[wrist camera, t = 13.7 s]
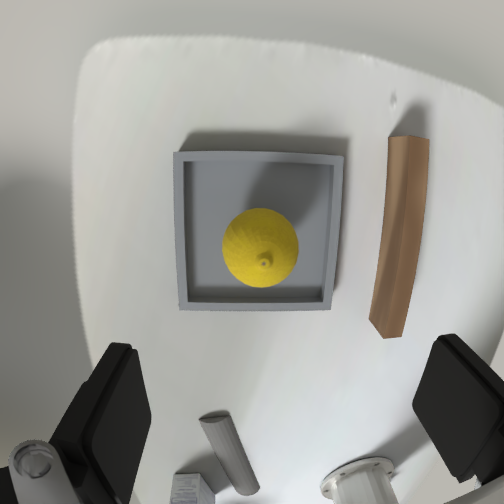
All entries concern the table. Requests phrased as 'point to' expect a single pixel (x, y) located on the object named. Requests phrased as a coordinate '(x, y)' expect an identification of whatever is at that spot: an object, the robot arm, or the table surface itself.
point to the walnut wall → (400, 233)
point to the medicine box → (190, 490)
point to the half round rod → (230, 453)
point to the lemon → (260, 247)
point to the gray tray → (245, 198)
